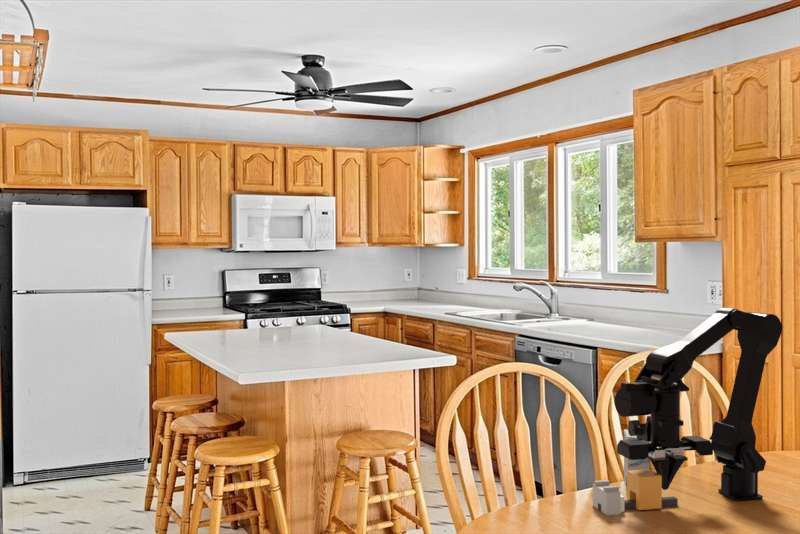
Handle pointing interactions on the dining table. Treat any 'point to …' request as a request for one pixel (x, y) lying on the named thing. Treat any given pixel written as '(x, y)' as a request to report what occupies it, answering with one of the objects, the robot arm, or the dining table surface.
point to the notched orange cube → (644, 489)
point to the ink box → (634, 464)
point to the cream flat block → (622, 503)
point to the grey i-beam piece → (607, 497)
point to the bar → (632, 503)
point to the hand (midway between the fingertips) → (664, 489)
